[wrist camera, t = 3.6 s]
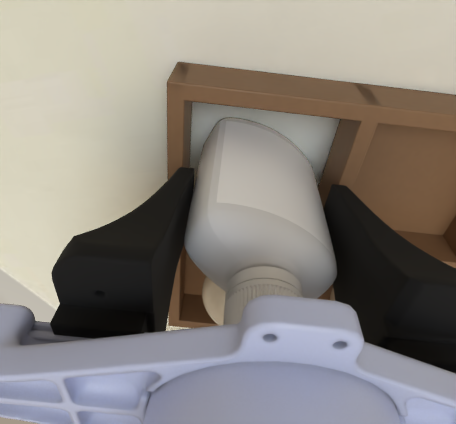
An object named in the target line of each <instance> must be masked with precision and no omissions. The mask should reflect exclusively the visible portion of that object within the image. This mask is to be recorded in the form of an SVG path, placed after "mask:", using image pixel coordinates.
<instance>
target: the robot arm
mask: <svg viewBox="0 0 456 424" xmlns="http://www.w3.org/2000/svg"><path fill="white" fill-rule="evenodd" d="M193 190H194V168H185V167H180V168H178V169H177V171H176V172H175V173H174V174H173V175H172V177H171V178H170V179H169V180H168V181H167V182H166V183H165V184H164V185H163V186H162V187H161V188H160V189H159V190H158V191H157V192H156V193H155V194H154V195H153V196H151V197H150V198H149V199H148V200H147V201H146V202H144V203H143V204H142V205H140V206H139V207H138V208H136V209H135V210H133V211H132V212H130V213H128V214H127V215H125V216H123V217H121V218H119V219H118V220H116V221H114V222H111V223H109V224H107V225H105V226H102V227H100V228H97V229H95V230H92V231H89V232H86V233H83V234H80V235H77V236H74V237H73V238H72V240H71V241H70V242H69V243H68V244H67V246H66V247H65V249H64V250H63V252H62V253H61V255H60V257H59V258H58V260H57V262H56V264H55V265H54V267H53V270H52V280H53V283H54V286H55V290H56V293H57V296H58V299H59V302H60V305H59V307H58V309H57V311H56V313H55V315H54V317H53V319H52V321H51V323H49V322H39V321H35V317H34V314H33V312H32V311H31V310H30V309H29V308H27V307H25V306H21V305H13V304H2V303H0V417H4V418H10V419H16V420H22V421H29V422H33V423H39V424H456V268H454V267H452V266H450V265H448V264H446V263H444V262H442V261H440V260H438V259H436V258H435V257H433V256H431V255H429V254H428V253H426V252H424V251H423V250H421V249H419V248H418V247H416V246H415V245H413V244H412V243H410V242H409V241H407V240H406V239H405V238H403V237H402V236H400V235H399V234H398V233H396V232H395V231H394V230H393V229H391V228H390V227H389V226H388V225H387V224H386V223H384V222H383V221H382V220H381V219H380V218H379V217H378V216H377V215H375V214H374V213H373V212H372V211H371V210H370V209H369V208H368V207H367V206H366V205H365V204H364V203H363V202H362V201H361V200H360V199H359V198H358V197H357V196H356V195H355V194H354V193H353V192H352V191H351V190H350V189H349V188H348V187H347V186H345V185H336V184H332V185H331V188H330V191H329V194H328V197H327V200H326V203H325V206H324V209H323V210H324V214H325V218H326V222H327V225H328V229H329V233H330V237H331V241H332V245H333V250H334V254H335V259H336V265H337V277H336V279H335V280H334V282H333V289H334V295H335V301H332V300H323V299H313V298H303V297H294V296H284V295H275V294H274V295H261V296H259V297H257V298H254V299H252V300H250V301H249V302H248V303H247V305H246V306H245V308H244V309H243V313H242V318H241V320H240V322H239V323H238V324H229V325H219V326H210V327H200V328H191V329H181V330H172V331H165V330H166V324H167V318H168V312H169V307H170V301H171V295H172V290H173V284H174V279H175V274H176V269H177V265H178V262H179V259H180V255H181V252H182V249H183V245H184V237H185V232H186V226H187V221H188V215H189V211H190V206H191V201H192V196H193Z"/></svg>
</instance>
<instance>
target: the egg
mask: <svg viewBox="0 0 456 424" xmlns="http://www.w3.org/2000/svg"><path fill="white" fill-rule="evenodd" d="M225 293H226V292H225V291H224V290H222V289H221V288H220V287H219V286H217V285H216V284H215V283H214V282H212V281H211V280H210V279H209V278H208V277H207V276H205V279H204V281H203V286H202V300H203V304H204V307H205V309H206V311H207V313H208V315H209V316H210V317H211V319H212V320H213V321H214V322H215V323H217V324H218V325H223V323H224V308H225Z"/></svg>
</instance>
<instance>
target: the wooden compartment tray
mask: <svg viewBox="0 0 456 424" xmlns="http://www.w3.org/2000/svg"><path fill="white" fill-rule="evenodd" d="M192 101H193V102H202V103H210V104H219V105H227V106H236V107H244V108H253V109H261V110H270V111H278V112H287V113H295V114H304V115H312V116H321V117H329V118H338V119H340V122H339V126H338V129H337V132H336V135H335V138H334V141H333V144H332V147H331V151H330V154H329V157H328V160H327V163H326V166H325V169H324V173H323V176H322V179H321V182H320V185H319V188H318V191H319V195H320V198H321V202H322V206H323V209H324V206H325V203H326V200H327V197H328V194H329V191H330V188H331V185H332V184H336V185H345V186H347V187H348V188H349V189H350V190H351V191H352V192H353V193H354V194H355V195H356V196H357V197H358V198H359V199H360V200H361V201H362V202H363V203H364V204H365V205H366V206H367V207H368V208H369V209H370V210H371V211H372V212H373V213H374V214H375V215H377V216H378V217H379V218H380V219H381V220H382V221H383V222H384V223H386V224H387V225H388V226H389V227H390V228H391V229H393V230H394V231H395V232H396V233H398V234H399V235H400V236H402V237H403V238H405V239H406V240H407V241H409V242H410V243H412V244H413V245H415V246H416V247H418V248H419V249H421V250H423V251H424V252H426V253H428V254H429V255H431V256H433V257H435V258H436V259H438V260H440V261H442V262H444V263H446V264H448V265H450V266H452V267H454V268H456V95H451V94H443V93H435V92H426V91H418V90H410V89H401V88H393V87H385V86H376V85H368V84H359V83H350V82H342V81H333V80H325V79H317V78H308V77H300V76H292V75H283V74H275V73H267V72H258V71H250V70H242V69H233V68H225V67H217V66H208V65H200V64H192V63H184V62H178V63H177V65H176V66H175V68H174V70H173V72H172V74H171V75H170V77H169V79H168V81H167V164H168V180H169V179H170V178H171V177H172V175H173V174H174V173H175V172H176V171H177V169H178V168H180V167H185V168H189V167H190V141H191V115H192ZM205 276H206V275H205V274H204V273H203V272H202V271H201V270H200V269H199V268H198V267H197V266H196V265H195V263H194V262H193V261H192V260H191V258H190V257H189V255H188V253H187V251H186V249H185V246H184V245H183V249H182V252H181V255H180V259H179V262H178V265H177V269H176V274H175V279H174V284H173V290H172V295H171V301H170V307H169V326H179V327H188V328H200V327H210V326H219V325H218V324H217V323H215V322H214V321H213V320H212V319H211V317H210V316H209V315H208V313H207V311H206V309H205V307H204V304H203V300H202V286H203V281H204V279H205ZM332 287H333V284H332V285H331V286H330V287H329V288H328V290H327V291H326V292H324V293H323V294H322V295H321V296H320V297H318V298H317V299H323V300H329V297H330V293H331V290H332Z"/></svg>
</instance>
